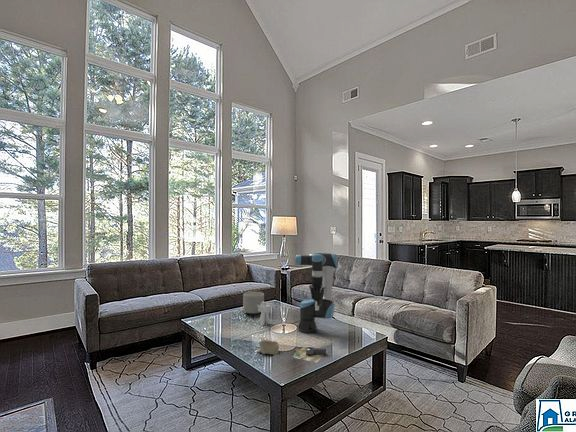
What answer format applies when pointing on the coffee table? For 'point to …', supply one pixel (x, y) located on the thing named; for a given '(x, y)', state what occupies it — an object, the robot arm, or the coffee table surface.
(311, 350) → the peg dial
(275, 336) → the coffee table surface
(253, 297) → the planter
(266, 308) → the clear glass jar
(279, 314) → the coffee table surface
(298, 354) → the tuner board
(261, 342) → the decorative stone
